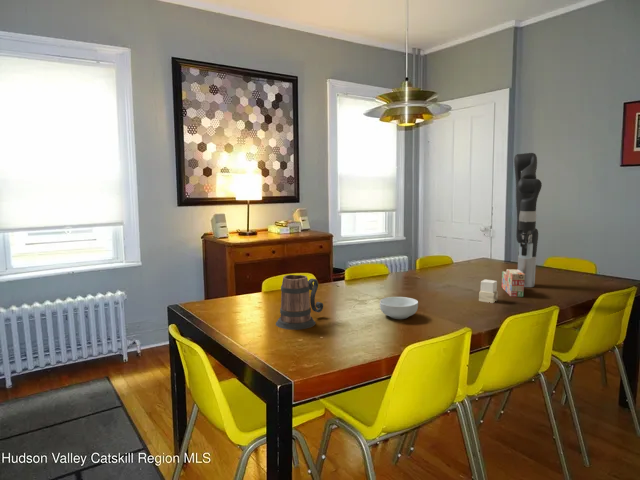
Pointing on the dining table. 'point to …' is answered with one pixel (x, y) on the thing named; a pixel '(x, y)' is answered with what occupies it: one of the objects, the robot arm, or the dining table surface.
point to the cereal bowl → (398, 307)
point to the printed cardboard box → (513, 282)
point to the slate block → (529, 251)
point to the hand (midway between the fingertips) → (525, 254)
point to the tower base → (488, 296)
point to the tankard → (297, 302)
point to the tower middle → (488, 286)
